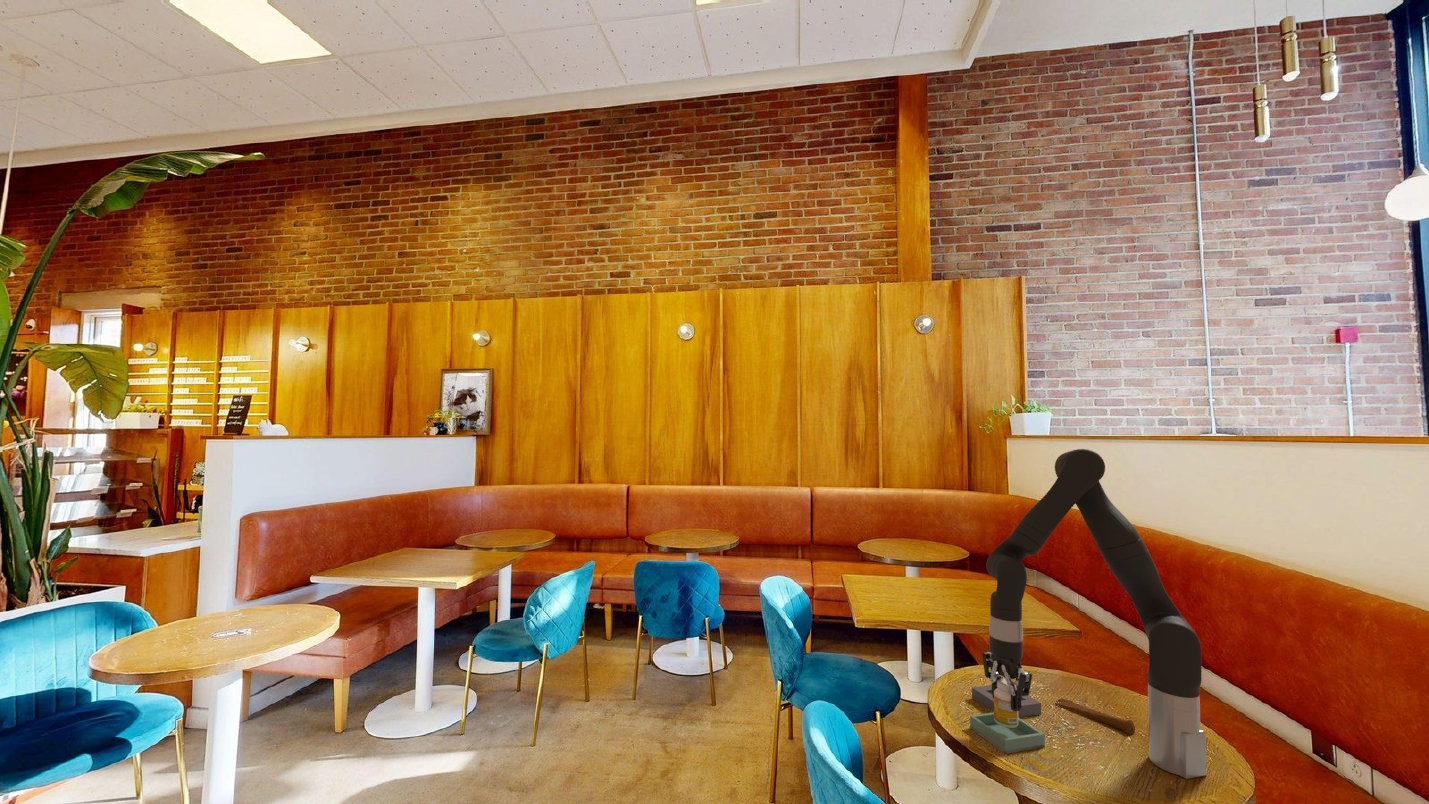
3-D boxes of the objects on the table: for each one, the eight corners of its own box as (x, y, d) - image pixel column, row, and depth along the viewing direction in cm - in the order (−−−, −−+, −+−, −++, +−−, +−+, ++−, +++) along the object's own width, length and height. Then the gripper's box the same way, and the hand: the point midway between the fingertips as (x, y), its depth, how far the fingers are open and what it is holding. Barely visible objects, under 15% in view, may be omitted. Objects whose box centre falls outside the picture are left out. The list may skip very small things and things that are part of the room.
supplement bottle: (996, 714, 142) (996, 675, 142) (1020, 722, 138) (1020, 682, 139) (991, 723, 138) (991, 683, 138) (1015, 731, 134) (1015, 690, 135)
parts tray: (1044, 747, 134) (1044, 734, 134) (1005, 753, 131) (1005, 740, 131) (1007, 722, 145) (1007, 710, 145) (970, 727, 142) (970, 715, 142)
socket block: (1041, 714, 149) (1041, 703, 149) (1004, 719, 146) (1004, 708, 146) (1006, 693, 161) (1006, 683, 161) (971, 698, 158) (971, 687, 158)
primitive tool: (1050, 704, 156) (1050, 692, 156) (1061, 700, 159) (1061, 687, 159) (1130, 738, 139) (1130, 723, 140) (1140, 732, 142) (1140, 718, 142)
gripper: (1041, 644, 133) (1042, 717, 132) (996, 624, 147) (996, 689, 146) (1016, 647, 131) (1016, 721, 130) (972, 626, 145) (972, 692, 144)
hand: (1006, 704), depth 138 cm, fingers closed on supplement bottle, 5 cm apart
